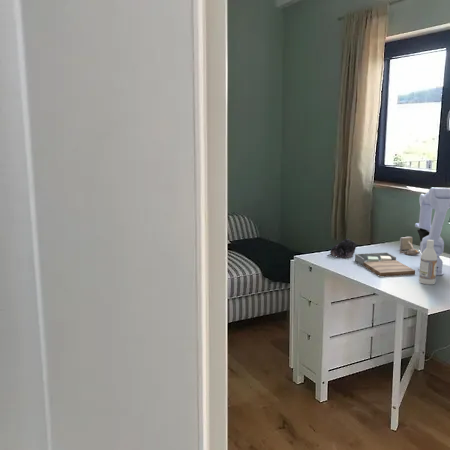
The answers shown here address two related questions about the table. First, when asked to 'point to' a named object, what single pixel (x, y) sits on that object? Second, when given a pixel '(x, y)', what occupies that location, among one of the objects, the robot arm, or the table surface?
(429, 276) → the bath foam
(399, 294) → the table surface
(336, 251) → the crystal cluster
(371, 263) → the walnut plate
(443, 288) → the table surface
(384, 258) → the cream tile
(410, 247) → the decorative sculpture
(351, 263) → the table surface
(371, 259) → the sage tile
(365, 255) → the box
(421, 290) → the table surface
